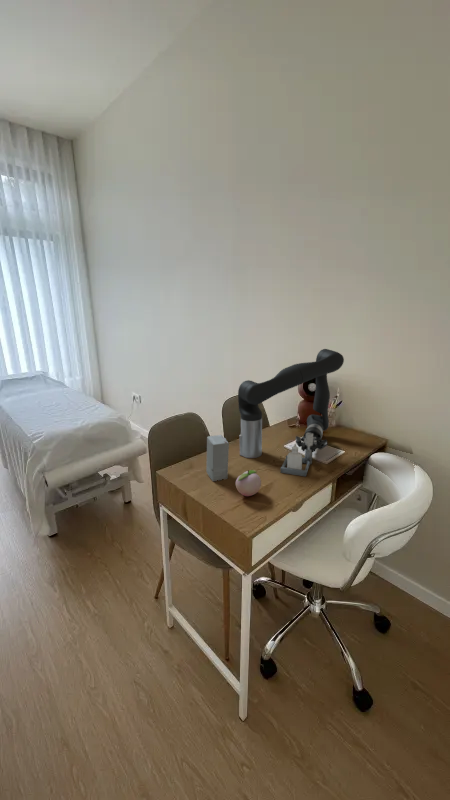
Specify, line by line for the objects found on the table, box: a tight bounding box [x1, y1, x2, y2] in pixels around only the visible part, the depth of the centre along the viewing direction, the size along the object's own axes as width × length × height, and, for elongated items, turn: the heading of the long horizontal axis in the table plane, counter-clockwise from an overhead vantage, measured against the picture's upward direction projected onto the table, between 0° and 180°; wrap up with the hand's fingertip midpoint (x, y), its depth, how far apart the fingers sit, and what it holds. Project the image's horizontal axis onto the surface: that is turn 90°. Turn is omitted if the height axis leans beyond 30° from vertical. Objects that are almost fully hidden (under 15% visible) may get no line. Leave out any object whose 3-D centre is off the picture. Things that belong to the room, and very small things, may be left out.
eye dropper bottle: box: [286, 443, 303, 470], centre depth 136 cm, size 4×6×12 cm
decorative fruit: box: [235, 469, 262, 497], centre depth 120 cm, size 9×8×10 cm
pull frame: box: [280, 432, 313, 477], centre depth 139 cm, size 11×14×13 cm
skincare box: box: [206, 434, 230, 482], centre depth 134 cm, size 8×7×16 cm
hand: (308, 449), depth 140 cm, fingers closed on pull frame, 3 cm apart
